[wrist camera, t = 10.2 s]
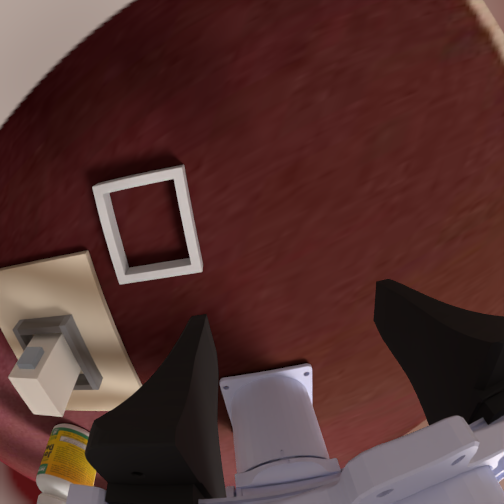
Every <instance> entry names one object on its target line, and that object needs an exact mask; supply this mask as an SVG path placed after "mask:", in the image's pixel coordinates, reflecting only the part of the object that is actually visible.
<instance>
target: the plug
mask: <svg viewBox="0 0 504 504" xmlns="http://www.w3.org/2000/svg"><path fill="white" fill-rule="evenodd" d="M80 371H81V368H80V366H79V364H78V363H77V361H76V359H75V357H74V355H73V353H72V351H71V349H70V347H69V345H68V344H67V342H66V340H65V338H64V336H63V333H62V332H61V333H49V334H35V335H34V336H33V338H32V339H31V341H30V342H29V344H28V345H27V347H26V349H25V350H24V352H23V353H22V355H21V356H20V358H19V360H18V361H17V363H16V365H15V366H14V368H13V370H12V371H11V373H10V375H9V376H8V378H9V380H10V381H11V383H12V384H13V386H14V387H15V389H16V390H17V392H18V393H19V395H20V396H21V397H22V399H23V400H24V402H25V403H26V404H27V406H28V407H29V409H30V410H31V411H32V413H33V414H37V415H47V416H57V417H63V414H64V411H65V409H66V406H67V403H68V401H69V398H70V396H71V393H72V391H73V388H74V386H75V383H76V381H77V378H78V376H79V373H80Z"/></svg>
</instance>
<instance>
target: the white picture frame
mask: <svg viewBox="0 0 504 504" xmlns="http://www.w3.org/2000/svg"><path fill="white" fill-rule="evenodd" d="M171 179H174V183H175V188H176V193H177V199H178V204H179V209H180V214H181V219H182V224H183V228H184V233H185V238H186V243H187V247H188V252H189V256H190V258H186V259H179V260H173V261H167V262H161V263H155V264H149V265H143V266H136V267H130V268H129V266H128V262H127V259H126V255H125V252H124V248H123V245H122V241H121V238H120V234H119V230H118V226H117V223H116V219H115V215H114V211H113V207H112V202H111V198H110V194H109V193H110V192H114V191H118V190H123V189H127V188H132V187H136V186H141V185H146V184H151V183H156V182H161V181H166V180H171ZM92 189H93V193H94V197H95V201H96V205H97V209H98V213H99V217H100V221H101V225H102V228H103V232H104V235H105V239H106V242H107V246H108V249H109V253H110V256H111V259H112V262H113V266H114V269H115V272H116V275H117V278H118V281H119V284H127V283H133V282H140V281H147V280H153V279H160V278H166V277H173V276H179V275H185V274H192V273H198V272H202V270H203V262H202V257H201V252H200V247H199V242H198V237H197V232H196V227H195V222H194V217H193V212H192V207H191V201H190V196H189V190H188V185H187V179H186V174H185V168H184V165H179V166H174V167H169V168H164V169H159V170H154V171H149V172H144V173H140V174H135V175H130V176H126V177H122V178H117V179H113V180H109V181H105V182H101V183H98V184H96V185H94V186H93V187H92Z"/></svg>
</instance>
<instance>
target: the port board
mask: <svg viewBox="0 0 504 504" xmlns="http://www.w3.org/2000/svg"><path fill="white" fill-rule="evenodd" d="M0 328H1V330H2V332H3V334H4V336H5V337H6V339H7V341H8V343H9V345H10V346H11V348H12V350H13V352H14V353H15V355H16V357H17V359H18V360H19V358H20V356H21V355H22V353H23V352H24V350H25V349H26V347H27V345H28V344H29V342H30V341H31V339H32V338H33V336H34V335H35V334H49V333H61V332H62V333H63V336H64V338H65V340H66V342H67V344H68V345H69V347H70V349H71V351H72V353H73V355H74V357H75V359H76V361H77V363H78V364H79V366H80V368H81V371H80V373H79V376H78V378H77V381H76V383H75V386H74V388H73V391H72V393H71V396H70V398H69V401H68V403H67V406H66V409H65V410H79V411H111V410H112V409H114V408H115V407H117V406H118V405H120V404H121V403H122V402H124V401H125V400H126V399H128V398H129V397H130V396H131V395H133V394H134V393H135V392H136V391H137V390H138V389H139V388H140V387H141V386H142V384H141V382H140V380H139V378H138V376H137V373H136V371H135V369H134V367H133V365H132V363H131V361H130V358H129V356H128V354H127V352H126V349H125V347H124V345H123V343H122V340H121V338H120V336H119V333H118V331H117V328H116V326H115V323H114V321H113V318H112V316H111V313H110V311H109V308H108V306H107V303H106V300H105V298H104V295H103V292H102V289H101V287H100V284H99V281H98V278H97V275H96V272H95V269H94V266H93V263H92V260H91V257H90V254H89V251H88V250H87V251H82V252H77V253H72V254H67V255H62V256H57V257H52V258H47V259H42V260H37V261H33V262H28V263H23V264H18V265H14V266H9V267H4V268H0Z"/></svg>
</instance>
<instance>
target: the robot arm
mask: <svg viewBox="0 0 504 504" xmlns="http://www.w3.org/2000/svg"><path fill="white" fill-rule="evenodd" d="M374 322H375V324H376V326H377V329H378V331H379V333H380V335H381V337H382V339H383V340H384V342H385V343H386V345H387V346H388V348H389V349H390V351H391V352H392V354H393V355H394V357H395V358H396V359H397V361H398V362H399V364H400V365H401V367H402V368H403V370H404V371H405V373H406V375H407V376H408V378H409V380H410V382H411V384H412V386H413V388H414V390H415V392H416V394H417V396H418V399H419V401H420V403H421V406H422V408H423V410H424V413H425V416H426V418H427V421H428V424H429V426H427V427H425V428H422V429H420V430H418V431H415V432H413V433H410V434H407V435H405V436H402V437H400V438H397V439H394V440H392V441H389V442H386V443H383V444H380V445H377V446H375V447H373V448H371V449H369V450H366V451H364V452H362V453H360V454H359V455H357V456H356V457H354V458H353V459H352V460H350V461H349V462H348V463H347V465H346V466H345V468H342V469H340V466H339V463H338V460H337V458H333V459H330V458H329V455H328V452H327V449H326V446H325V443H324V440H323V437H322V434H321V431H320V427H319V424H318V421H317V418H316V415H315V412H314V409H313V406H312V367H311V365H310V364H308V363H305V364H300V365H295V366H290V367H285V368H280V369H274V370H269V371H263V372H257V373H251V374H245V375H238V376H231V377H224V378H221V379H220V381H219V383H220V388H221V391H222V395H223V398H224V401H225V405H226V408H227V411H228V414H229V418H230V421H231V424H232V427H233V436H234V447H235V457H236V467H237V474H235V482H236V489H235V487H234V486H227V487H226V488H225V484H224V477H223V470H222V463H221V454H220V446H219V436H218V425H217V408H218V375H219V372H218V361H217V352H216V348H215V344H214V341H213V337H212V333H211V329H210V326H209V322H208V318H207V314H203V315H197V316H192V317H191V318H190V319H189V321H188V323H187V325H186V327H185V329H184V331H183V332H182V334H181V336H180V338H179V339H178V341H177V342H176V344H175V346H174V347H173V349H172V350H171V352H170V353H169V355H168V356H167V358H166V359H165V360H164V362H163V363H162V365H161V366H160V367H159V368H158V370H157V371H156V372H155V373H154V374H153V375H152V376H151V378H150V379H149V380H148V381H147V382H146V383H144V384H143V385H142V386H141V387H140V388H139V389H138V390H137V391H136V392H135V393H134V394H133V395H131V396H130V397H129V398H128V399H126V400H125V401H124V402H122V403H121V404H120V405H118V406H117V407H115V408H114V409H112V410H111V411H109V412H108V413H106V414H104V415H103V416H101V417H99V418H98V419H96V420H94V422H93V425H92V428H91V430H90V434H89V438H88V442H87V446H86V450H85V457H86V460H87V461H88V462H89V463H90V465H91V466H92V467H93V468H94V469H95V470H96V471H97V472H98V473H99V474H100V475H101V476H102V477H103V478H104V479H105V480H106V481H107V482H108V485H107V491H106V490H105V489H102V488H100V487H95V486H86V485H79V484H70V487H69V491H68V496H67V500H66V504H504V491H503V489H502V487H501V486H500V484H499V481H500V480H502V479H503V478H504V317H503V316H494V315H487V314H482V313H477V312H472V311H468V310H465V309H461V308H458V307H455V306H452V305H449V304H446V303H444V302H441V301H438V300H436V299H434V298H431V297H429V296H427V295H424V294H422V293H420V292H418V291H416V290H413V289H411V288H409V287H407V286H405V285H403V284H400V283H398V282H396V281H393V280H390V279H386V280H382V281H377V282H376V296H375V310H374ZM305 372H307V373H305ZM225 386H228V387H225Z"/></svg>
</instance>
